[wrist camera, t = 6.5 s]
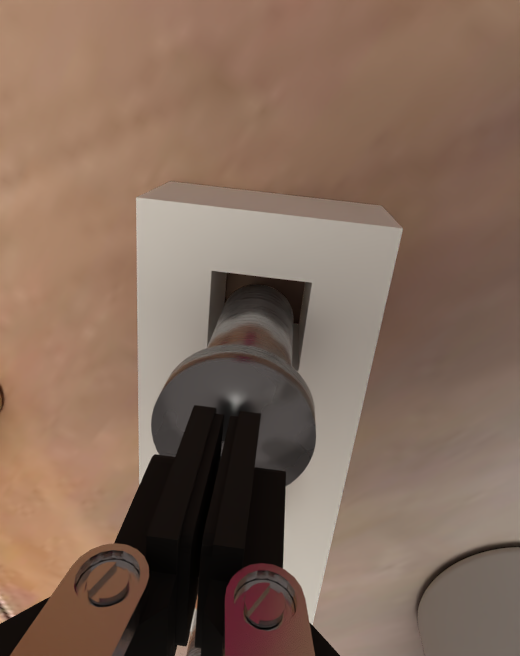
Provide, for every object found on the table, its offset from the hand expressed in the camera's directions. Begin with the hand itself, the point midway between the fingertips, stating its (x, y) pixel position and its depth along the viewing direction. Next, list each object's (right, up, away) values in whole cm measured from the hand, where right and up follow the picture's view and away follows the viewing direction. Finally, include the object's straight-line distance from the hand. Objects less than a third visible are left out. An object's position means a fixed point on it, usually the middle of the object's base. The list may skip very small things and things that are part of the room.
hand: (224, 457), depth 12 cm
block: (0, -2, +15) cm, 15 cm away
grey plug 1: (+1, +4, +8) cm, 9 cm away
